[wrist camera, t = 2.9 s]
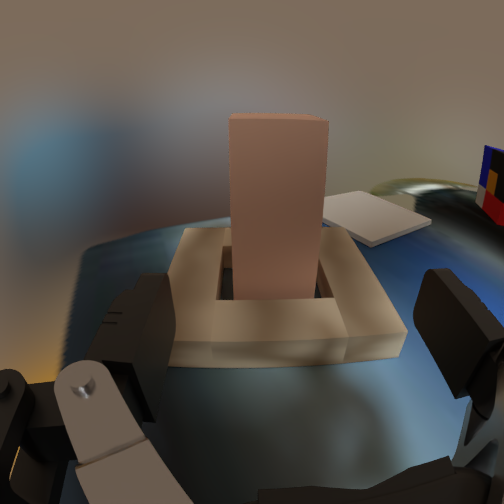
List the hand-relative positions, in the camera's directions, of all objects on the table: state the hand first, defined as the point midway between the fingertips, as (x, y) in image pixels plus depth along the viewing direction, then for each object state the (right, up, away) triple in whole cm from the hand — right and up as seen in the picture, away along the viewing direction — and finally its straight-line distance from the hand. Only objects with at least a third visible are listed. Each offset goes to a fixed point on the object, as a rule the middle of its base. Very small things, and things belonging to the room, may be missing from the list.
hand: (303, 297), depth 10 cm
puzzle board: (0, -2, +13) cm, 13 cm away
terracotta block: (0, -2, +13) cm, 13 cm away
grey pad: (+12, +6, +27) cm, 30 cm away
